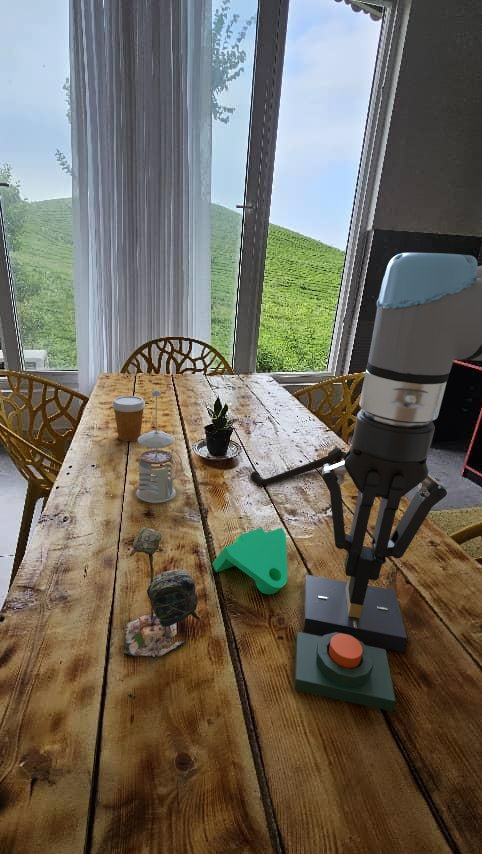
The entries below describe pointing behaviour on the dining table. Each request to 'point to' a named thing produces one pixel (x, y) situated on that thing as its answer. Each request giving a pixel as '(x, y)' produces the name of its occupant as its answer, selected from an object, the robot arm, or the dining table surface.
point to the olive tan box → (353, 609)
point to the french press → (162, 486)
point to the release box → (343, 673)
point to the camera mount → (258, 558)
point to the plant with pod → (160, 603)
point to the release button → (345, 651)
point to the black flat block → (373, 626)
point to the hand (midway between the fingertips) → (355, 596)
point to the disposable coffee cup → (128, 416)
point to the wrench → (302, 467)
